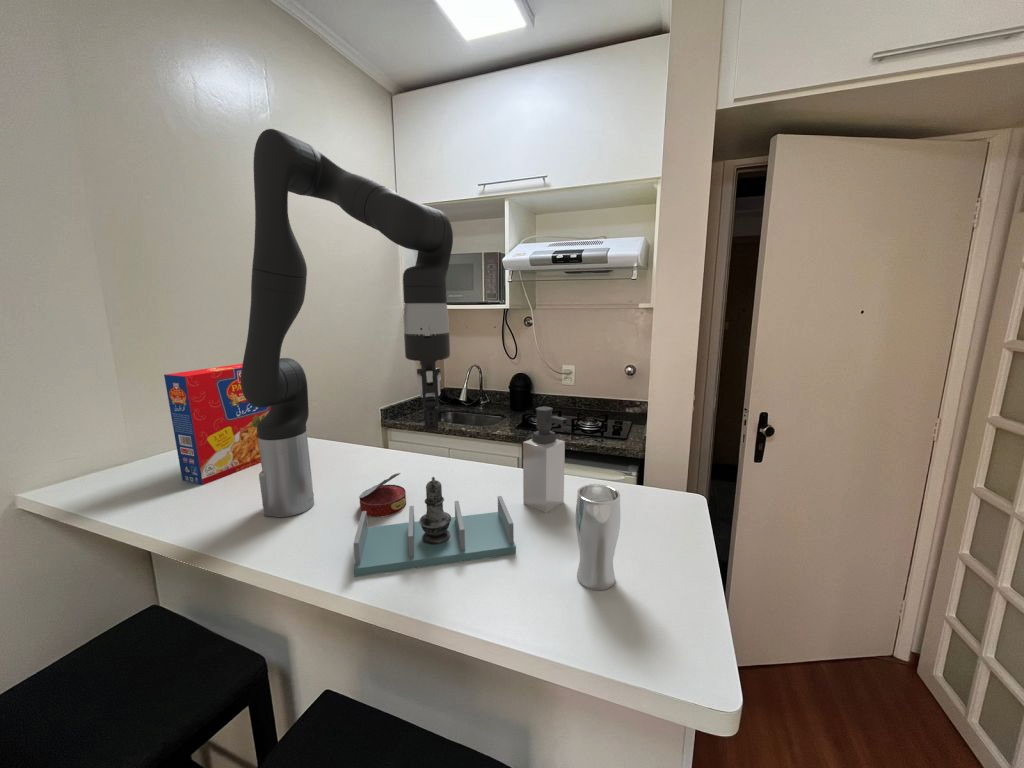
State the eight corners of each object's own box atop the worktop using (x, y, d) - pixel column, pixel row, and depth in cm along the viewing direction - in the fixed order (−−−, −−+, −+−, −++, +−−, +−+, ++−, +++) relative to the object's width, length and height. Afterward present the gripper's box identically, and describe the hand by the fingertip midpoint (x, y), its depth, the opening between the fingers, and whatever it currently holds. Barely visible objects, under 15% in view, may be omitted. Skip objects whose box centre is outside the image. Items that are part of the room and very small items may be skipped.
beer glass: (570, 566, 70) (571, 484, 67) (609, 563, 71) (613, 482, 68) (580, 594, 64) (582, 504, 61) (623, 591, 64) (628, 502, 61)
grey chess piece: (455, 528, 79) (452, 470, 77) (447, 546, 74) (444, 484, 71) (425, 527, 80) (422, 469, 78) (415, 544, 74) (412, 482, 72)
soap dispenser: (554, 516, 87) (555, 416, 83) (523, 503, 93) (523, 408, 89) (572, 505, 91) (574, 409, 87) (541, 493, 97) (541, 403, 93)
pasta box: (202, 485, 104) (185, 376, 98) (182, 480, 106) (164, 374, 101) (296, 449, 129) (286, 361, 124) (277, 446, 132) (267, 360, 127)
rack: (353, 576, 68) (351, 546, 67) (363, 534, 80) (361, 508, 79) (515, 553, 74) (515, 525, 73) (501, 517, 86) (501, 493, 85)
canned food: (376, 537, 88) (350, 507, 83) (368, 512, 96) (344, 483, 92) (421, 505, 91) (399, 474, 86) (409, 483, 100) (388, 454, 95)
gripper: (405, 328, 76) (409, 413, 79) (402, 334, 62) (408, 436, 65) (446, 328, 77) (449, 411, 80) (452, 333, 64) (455, 433, 67)
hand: (430, 422), depth 73 cm, fingers open, 8 cm apart
